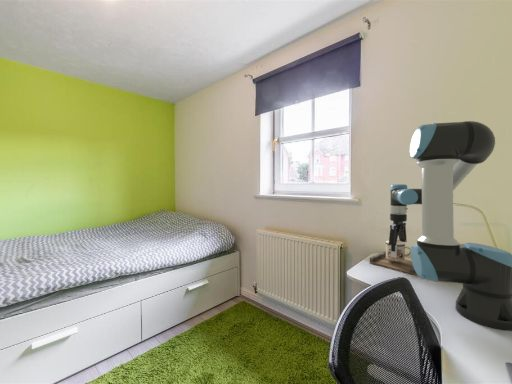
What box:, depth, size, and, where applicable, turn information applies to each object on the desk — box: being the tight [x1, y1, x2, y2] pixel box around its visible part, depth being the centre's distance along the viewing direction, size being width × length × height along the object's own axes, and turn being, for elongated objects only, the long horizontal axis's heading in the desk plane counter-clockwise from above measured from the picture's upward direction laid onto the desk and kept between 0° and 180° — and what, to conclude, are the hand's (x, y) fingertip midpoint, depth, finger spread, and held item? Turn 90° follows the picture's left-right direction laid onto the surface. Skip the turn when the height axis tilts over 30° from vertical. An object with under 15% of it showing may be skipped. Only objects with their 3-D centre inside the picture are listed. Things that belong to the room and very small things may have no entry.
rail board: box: [369, 251, 417, 276], centre depth 125 cm, size 18×21×3 cm
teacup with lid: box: [385, 239, 411, 262], centre depth 125 cm, size 12×9×12 cm
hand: (397, 255), depth 125 cm, fingers closed on teacup with lid, 9 cm apart
